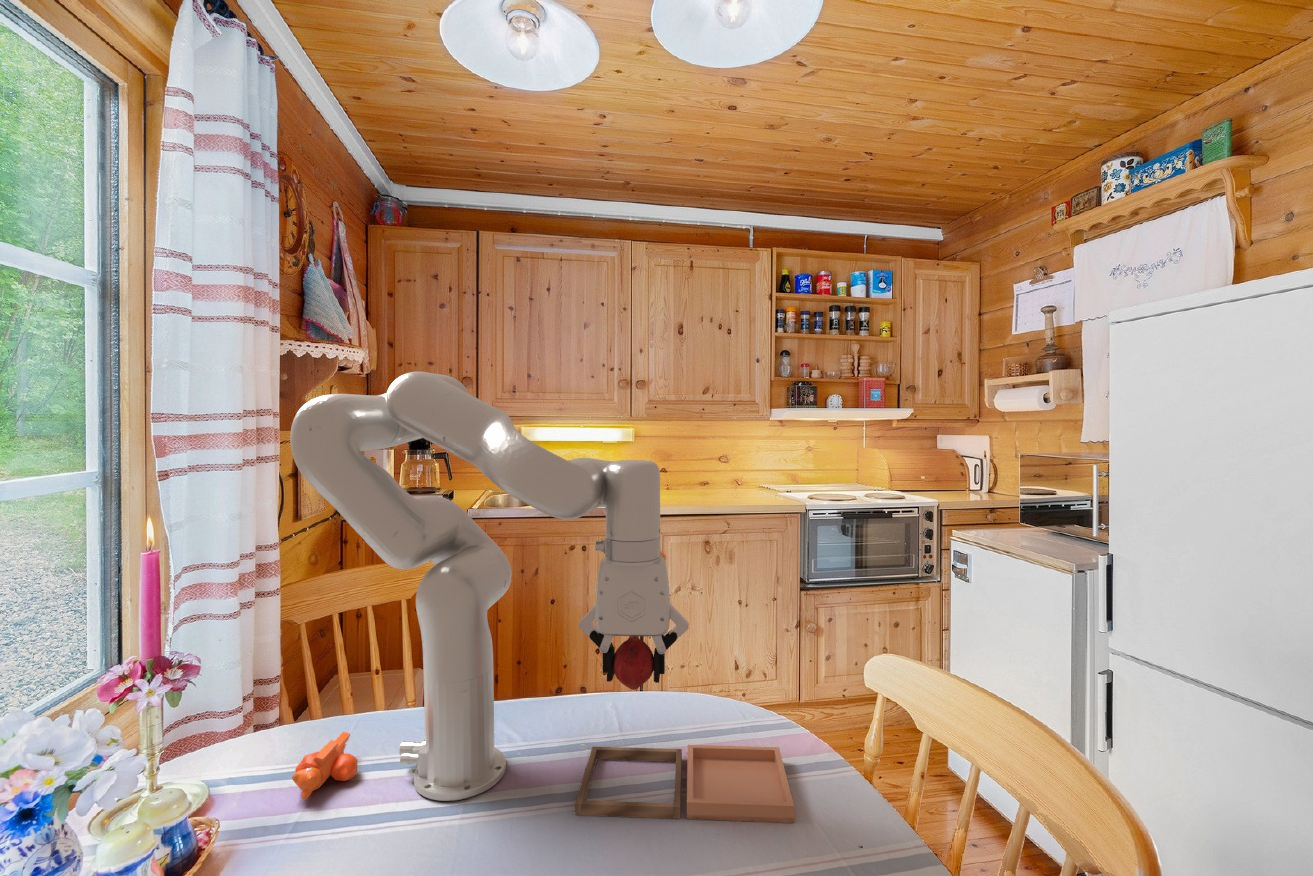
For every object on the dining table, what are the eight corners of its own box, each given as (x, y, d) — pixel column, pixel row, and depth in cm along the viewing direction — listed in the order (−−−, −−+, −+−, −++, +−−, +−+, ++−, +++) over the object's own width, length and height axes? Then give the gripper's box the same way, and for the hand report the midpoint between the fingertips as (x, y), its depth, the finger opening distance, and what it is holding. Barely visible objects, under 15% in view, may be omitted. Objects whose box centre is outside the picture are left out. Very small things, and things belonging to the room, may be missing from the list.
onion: (649, 701, 81) (649, 642, 81) (608, 697, 82) (607, 639, 82) (658, 682, 87) (658, 627, 86) (619, 678, 88) (619, 624, 88)
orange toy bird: (331, 720, 92) (287, 765, 80) (379, 734, 93) (342, 781, 81) (321, 751, 92) (275, 801, 80) (369, 765, 93) (330, 817, 81)
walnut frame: (575, 815, 79) (574, 803, 78) (592, 756, 92) (592, 746, 92) (679, 818, 78) (679, 807, 78) (681, 758, 91) (681, 749, 91)
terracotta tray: (686, 819, 78) (686, 802, 78) (687, 759, 91) (687, 744, 91) (794, 823, 77) (794, 806, 77) (779, 761, 90) (779, 747, 90)
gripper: (565, 555, 80) (567, 688, 81) (695, 556, 79) (695, 692, 80) (576, 543, 88) (577, 665, 89) (695, 544, 87) (695, 668, 88)
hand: (633, 676), depth 84 cm, fingers closed on onion, 5 cm apart
